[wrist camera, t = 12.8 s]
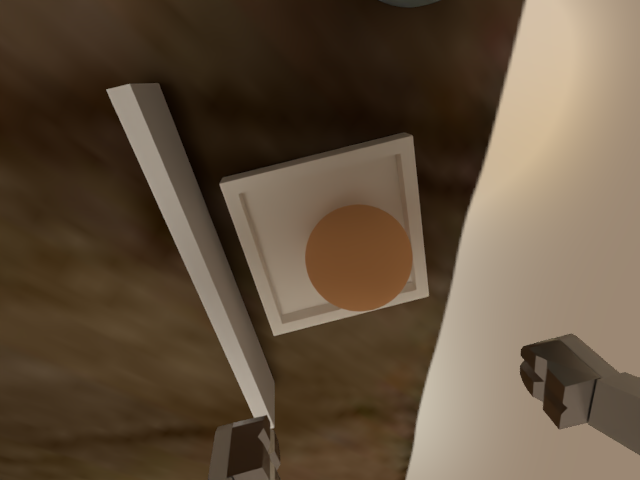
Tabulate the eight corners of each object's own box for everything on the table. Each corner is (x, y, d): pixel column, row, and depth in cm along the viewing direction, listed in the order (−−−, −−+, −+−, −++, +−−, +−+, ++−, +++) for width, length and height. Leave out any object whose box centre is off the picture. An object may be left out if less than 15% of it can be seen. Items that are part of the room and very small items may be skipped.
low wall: (139, 87, 18) (106, 89, 14) (158, 83, 18) (129, 83, 14) (262, 385, 27) (260, 431, 24) (274, 382, 27) (274, 427, 24)
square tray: (222, 177, 20) (219, 184, 19) (404, 132, 21) (412, 135, 19) (273, 323, 25) (273, 336, 24) (421, 285, 25) (429, 296, 24)
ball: (302, 298, 23) (348, 352, 18) (278, 214, 20) (324, 249, 15) (378, 262, 25) (440, 301, 20) (365, 181, 22) (432, 203, 17)
